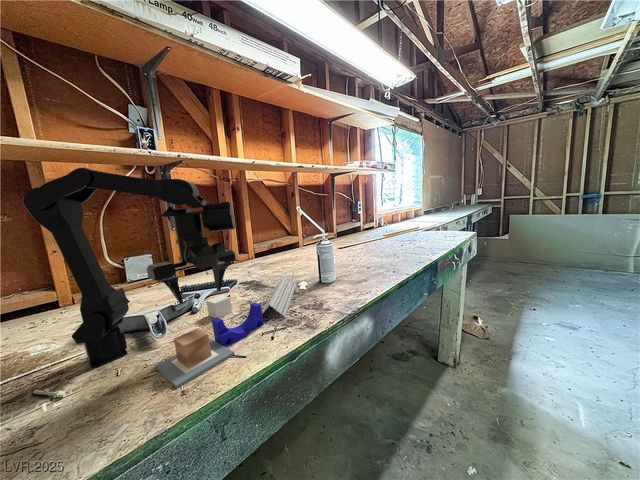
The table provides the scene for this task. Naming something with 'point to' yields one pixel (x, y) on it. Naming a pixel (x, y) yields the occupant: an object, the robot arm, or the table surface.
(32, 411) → the table surface
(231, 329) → the blue cradle bracket
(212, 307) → the cream block
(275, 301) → the corner bead
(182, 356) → the terracotta block
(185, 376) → the grey base plate
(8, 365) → the table surface
